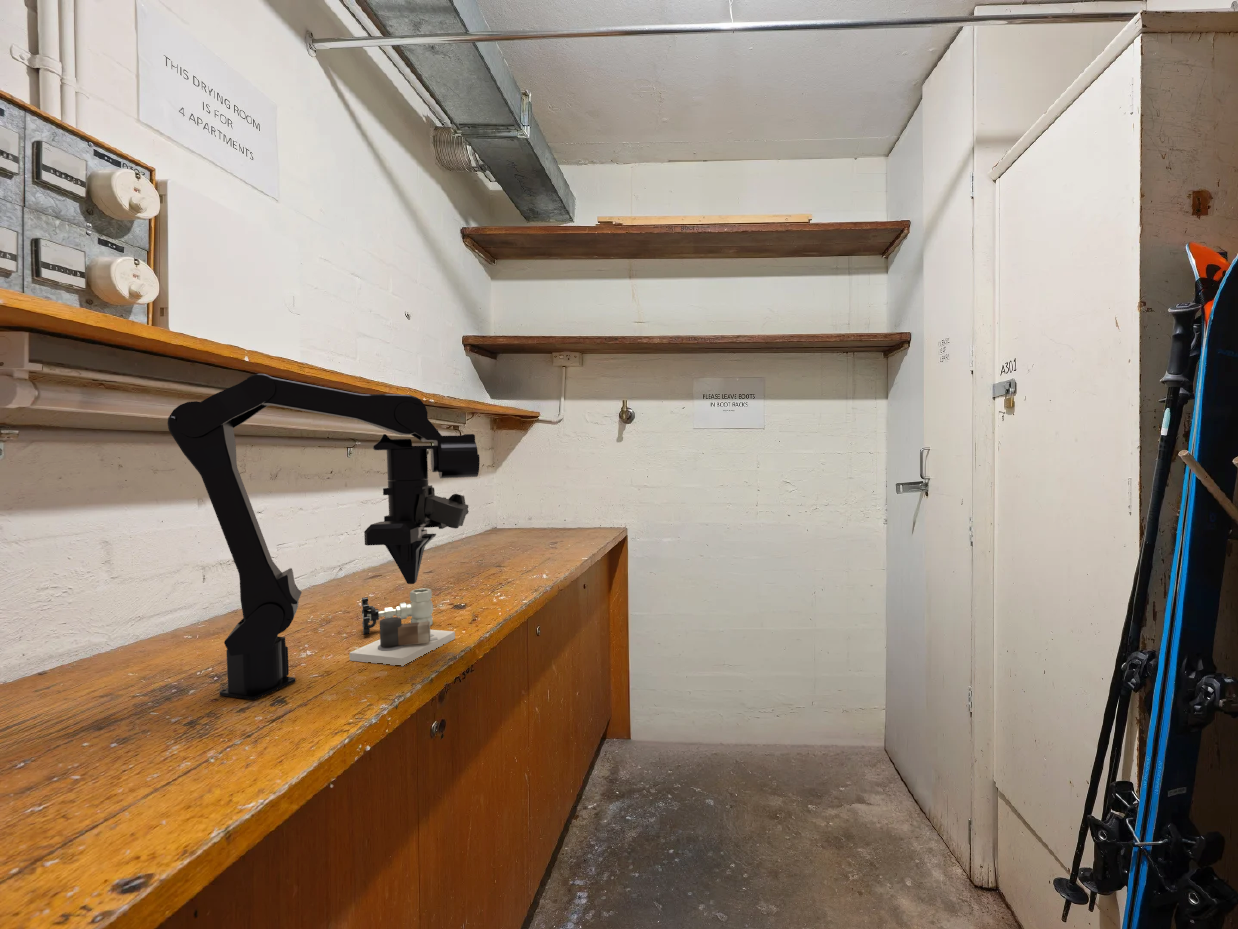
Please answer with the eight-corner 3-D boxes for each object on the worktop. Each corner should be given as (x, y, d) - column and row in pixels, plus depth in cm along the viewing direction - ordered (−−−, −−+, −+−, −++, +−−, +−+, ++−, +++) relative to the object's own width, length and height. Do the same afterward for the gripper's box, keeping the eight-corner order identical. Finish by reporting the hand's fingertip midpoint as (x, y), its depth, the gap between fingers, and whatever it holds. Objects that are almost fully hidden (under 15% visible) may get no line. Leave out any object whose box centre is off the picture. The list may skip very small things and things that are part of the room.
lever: (378, 648, 88) (377, 623, 88) (382, 641, 91) (381, 618, 91) (428, 643, 89) (427, 619, 89) (431, 637, 92) (430, 614, 92)
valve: (431, 619, 109) (362, 630, 103) (429, 585, 108) (361, 594, 103) (436, 628, 103) (364, 640, 97) (435, 592, 103) (362, 602, 97)
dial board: (403, 666, 84) (402, 657, 84) (349, 660, 87) (349, 651, 87) (455, 638, 96) (454, 630, 96) (406, 634, 100) (406, 626, 99)
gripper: (444, 481, 76) (448, 597, 76) (476, 476, 95) (479, 569, 95) (360, 484, 76) (365, 600, 76) (408, 478, 94) (412, 571, 95)
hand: (411, 583), depth 85 cm, fingers closed
